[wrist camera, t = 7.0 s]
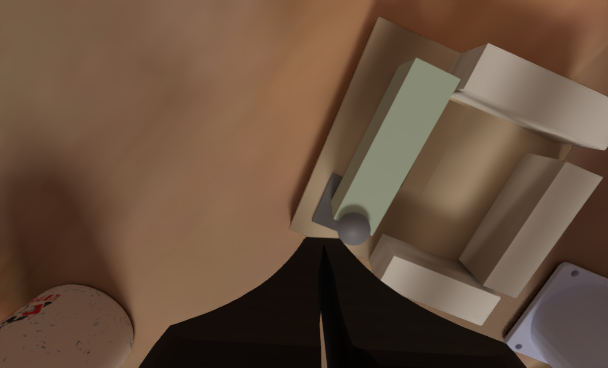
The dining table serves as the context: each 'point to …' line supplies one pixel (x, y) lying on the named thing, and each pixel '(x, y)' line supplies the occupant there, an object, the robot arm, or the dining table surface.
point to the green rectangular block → (390, 147)
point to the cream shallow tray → (465, 173)
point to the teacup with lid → (66, 331)
